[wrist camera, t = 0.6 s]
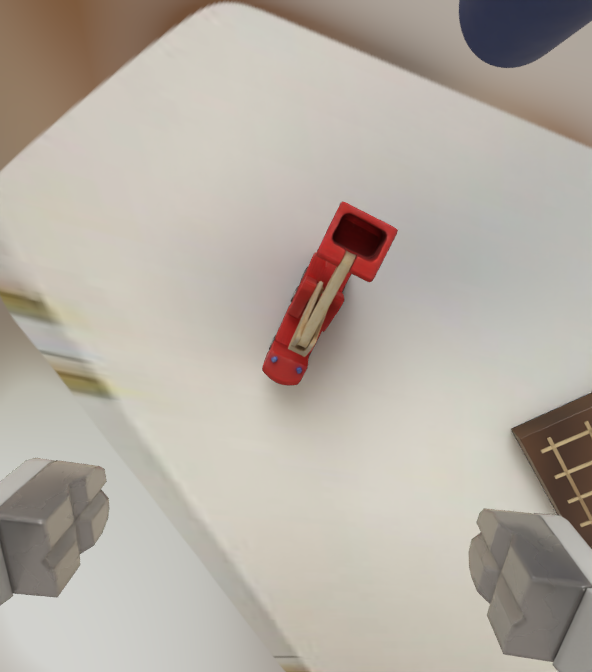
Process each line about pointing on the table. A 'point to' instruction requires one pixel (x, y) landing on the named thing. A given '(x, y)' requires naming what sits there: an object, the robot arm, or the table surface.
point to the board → (563, 460)
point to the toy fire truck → (326, 288)
